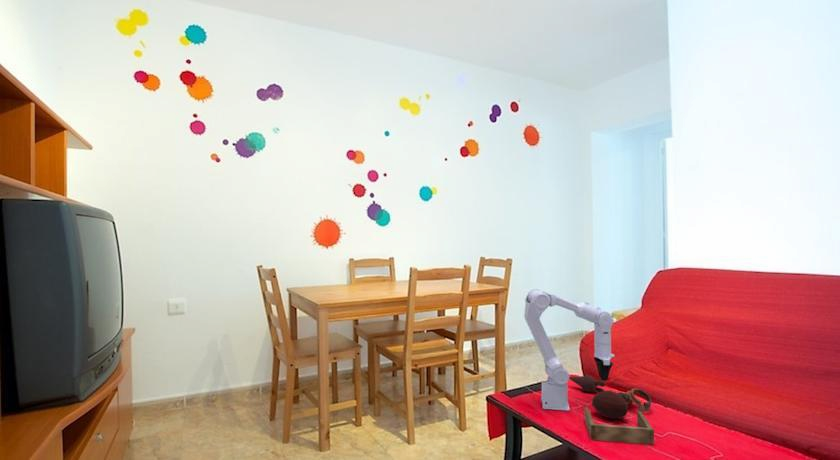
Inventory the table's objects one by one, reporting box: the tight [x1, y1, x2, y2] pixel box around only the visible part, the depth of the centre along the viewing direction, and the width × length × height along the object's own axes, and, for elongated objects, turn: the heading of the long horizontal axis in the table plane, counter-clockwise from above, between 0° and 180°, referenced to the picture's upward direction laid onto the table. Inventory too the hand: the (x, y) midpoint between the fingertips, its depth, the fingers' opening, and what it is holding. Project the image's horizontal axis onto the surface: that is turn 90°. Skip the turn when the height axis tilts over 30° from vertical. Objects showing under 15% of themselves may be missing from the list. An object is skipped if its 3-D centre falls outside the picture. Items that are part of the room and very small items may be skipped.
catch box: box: [583, 407, 655, 446], centre depth 140 cm, size 18×14×4 cm
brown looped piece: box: [616, 388, 652, 415], centre depth 158 cm, size 12×10×8 cm
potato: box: [591, 390, 629, 420], centre depth 151 cm, size 9×12×9 cm
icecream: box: [569, 373, 607, 393], centre depth 177 cm, size 7×7×15 cm
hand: (603, 378), depth 162 cm, fingers open, 3 cm apart
